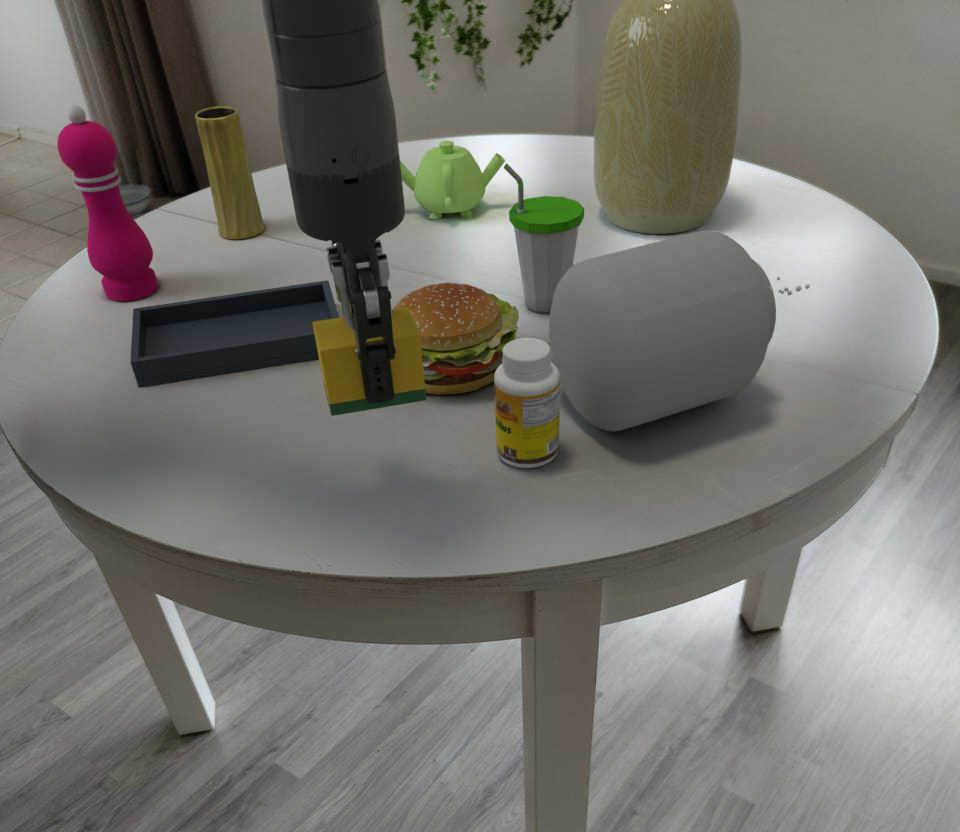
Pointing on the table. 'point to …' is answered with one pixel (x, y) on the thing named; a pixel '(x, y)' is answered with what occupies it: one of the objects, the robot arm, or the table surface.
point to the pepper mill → (106, 210)
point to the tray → (228, 332)
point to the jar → (660, 328)
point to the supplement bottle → (527, 404)
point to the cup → (544, 242)
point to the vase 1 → (229, 173)
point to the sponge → (346, 371)
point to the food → (460, 335)
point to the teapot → (450, 180)
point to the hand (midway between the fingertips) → (374, 382)
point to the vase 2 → (667, 112)
